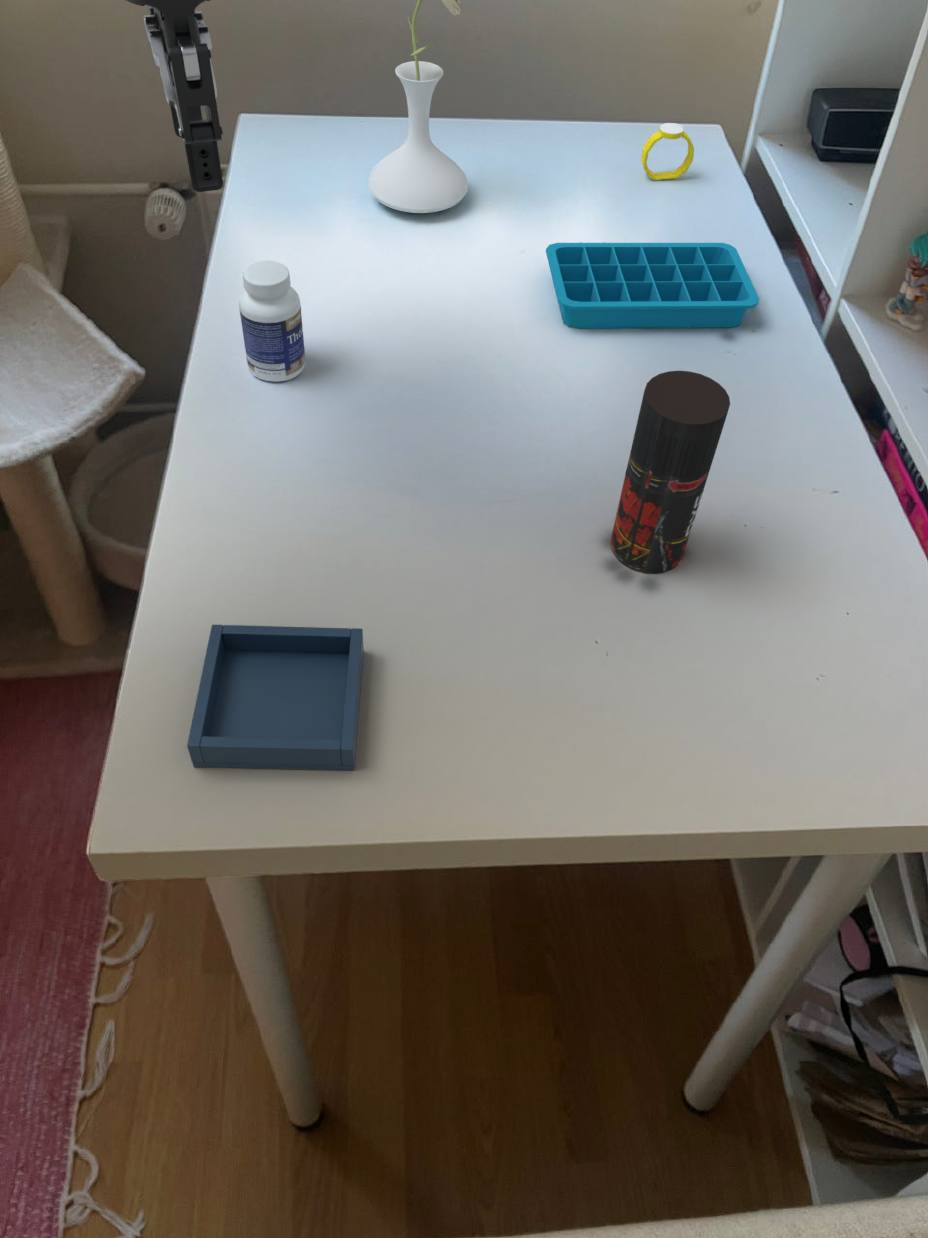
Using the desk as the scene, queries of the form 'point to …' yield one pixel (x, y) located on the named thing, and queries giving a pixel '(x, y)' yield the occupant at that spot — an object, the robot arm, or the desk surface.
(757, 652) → the desk surface
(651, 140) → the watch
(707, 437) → the deodorant
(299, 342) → the pill bottle
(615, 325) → the ice cube tray
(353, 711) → the tray
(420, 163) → the flower in vase
